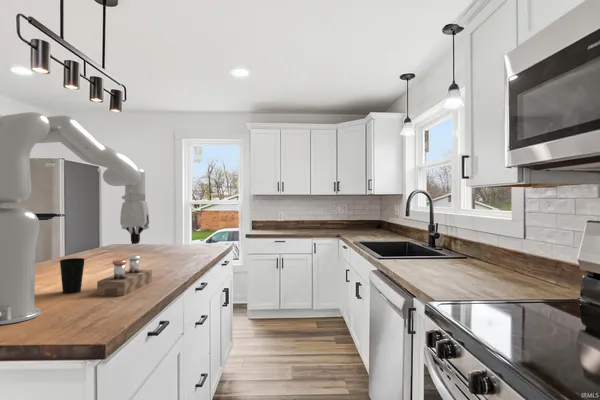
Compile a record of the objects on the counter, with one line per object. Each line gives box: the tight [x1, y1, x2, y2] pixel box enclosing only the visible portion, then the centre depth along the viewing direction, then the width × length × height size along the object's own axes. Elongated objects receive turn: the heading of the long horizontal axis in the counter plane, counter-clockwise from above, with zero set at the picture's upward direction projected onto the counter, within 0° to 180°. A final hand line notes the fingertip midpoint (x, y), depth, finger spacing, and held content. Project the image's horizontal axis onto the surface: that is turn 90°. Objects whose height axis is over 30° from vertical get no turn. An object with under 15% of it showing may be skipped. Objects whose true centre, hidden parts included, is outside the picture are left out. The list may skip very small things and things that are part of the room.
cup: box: [59, 257, 86, 295], centre depth 128 cm, size 8×8×12 cm
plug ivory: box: [127, 255, 141, 274], centre depth 141 cm, size 5×5×7 cm
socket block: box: [96, 269, 153, 297], centre depth 135 cm, size 22×10×5 cm, turn 179°
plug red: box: [112, 259, 127, 280], centre depth 130 cm, size 5×5×7 cm
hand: (135, 243), depth 141 cm, fingers closed
